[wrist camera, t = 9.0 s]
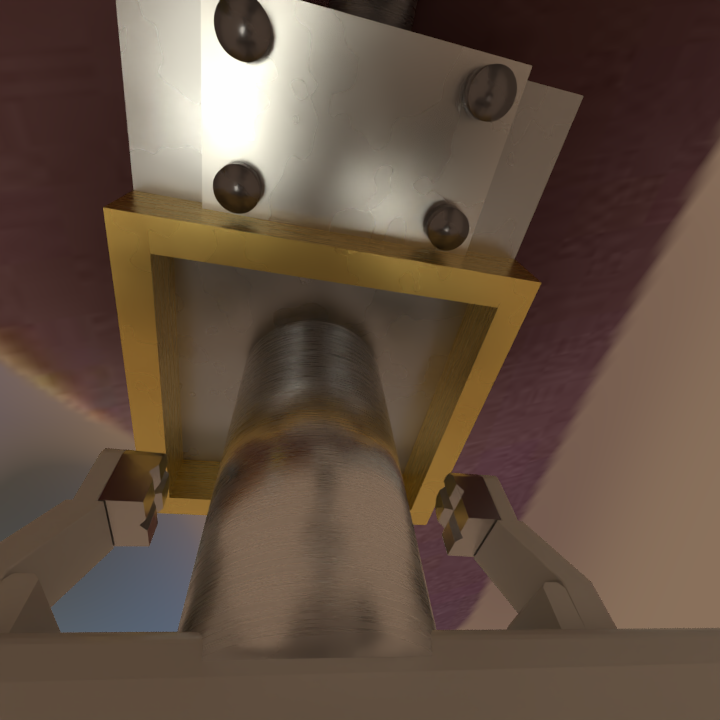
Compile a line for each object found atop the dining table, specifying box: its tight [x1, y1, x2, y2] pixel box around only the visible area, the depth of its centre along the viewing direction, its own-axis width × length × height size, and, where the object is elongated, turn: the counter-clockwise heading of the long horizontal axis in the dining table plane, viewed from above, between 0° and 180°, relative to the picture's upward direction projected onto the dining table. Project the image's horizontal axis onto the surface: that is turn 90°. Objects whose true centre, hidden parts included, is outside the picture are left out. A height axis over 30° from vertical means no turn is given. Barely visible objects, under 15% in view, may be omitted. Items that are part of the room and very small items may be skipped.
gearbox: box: [103, 0, 583, 525], centre depth 15 cm, size 22×12×6 cm, turn 168°
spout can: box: [177, 321, 436, 661], centre depth 12 cm, size 7×5×11 cm
